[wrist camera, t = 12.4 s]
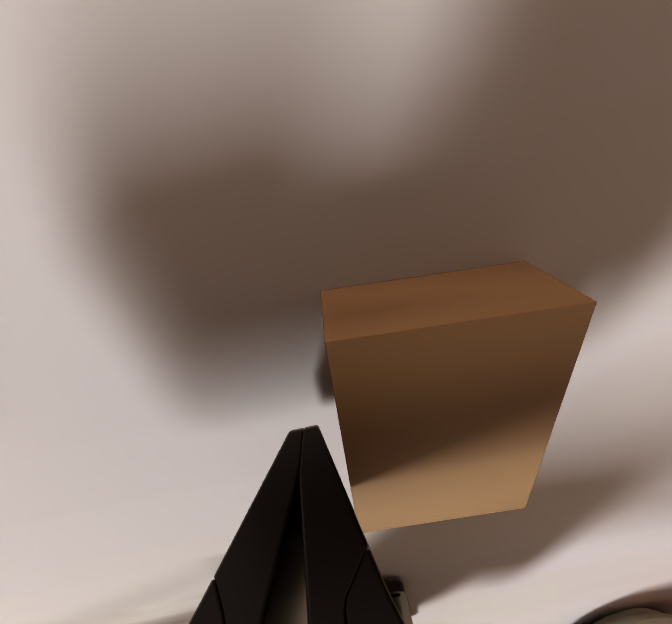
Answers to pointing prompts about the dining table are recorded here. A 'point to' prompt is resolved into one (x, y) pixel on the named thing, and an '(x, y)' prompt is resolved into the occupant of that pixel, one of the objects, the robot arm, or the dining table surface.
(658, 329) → the dining table surface
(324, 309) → the tan wooden block
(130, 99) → the dining table surface
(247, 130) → the dining table surface
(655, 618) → the air freshener
